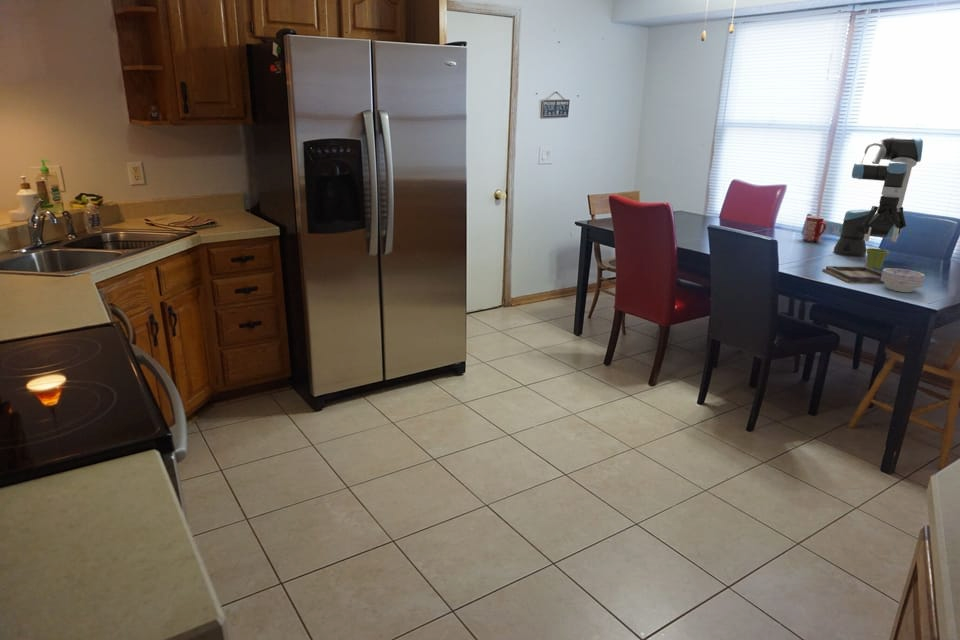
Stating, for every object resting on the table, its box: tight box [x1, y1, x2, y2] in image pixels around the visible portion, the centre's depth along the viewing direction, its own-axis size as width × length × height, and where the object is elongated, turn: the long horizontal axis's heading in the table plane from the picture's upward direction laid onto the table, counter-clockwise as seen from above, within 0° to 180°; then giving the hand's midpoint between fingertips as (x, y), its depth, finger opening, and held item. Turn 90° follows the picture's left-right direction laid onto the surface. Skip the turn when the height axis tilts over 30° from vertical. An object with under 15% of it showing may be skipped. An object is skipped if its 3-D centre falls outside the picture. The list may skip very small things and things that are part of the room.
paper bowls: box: [881, 267, 926, 293], centre depth 269 cm, size 15×15×8 cm
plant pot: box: [865, 247, 890, 270], centre depth 306 cm, size 9×9×9 cm
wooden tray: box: [821, 265, 885, 284], centre depth 289 cm, size 22×20×2 cm
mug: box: [803, 215, 827, 242], centre depth 364 cm, size 13×9×14 cm
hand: (879, 241), depth 303 cm, fingers open, 13 cm apart
